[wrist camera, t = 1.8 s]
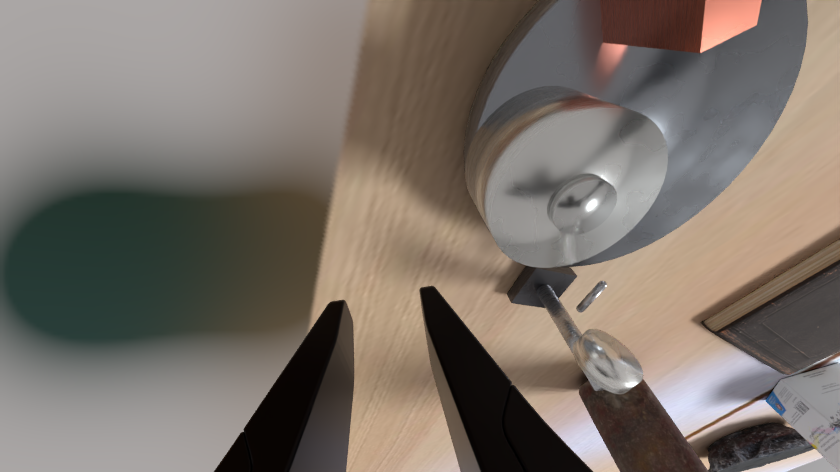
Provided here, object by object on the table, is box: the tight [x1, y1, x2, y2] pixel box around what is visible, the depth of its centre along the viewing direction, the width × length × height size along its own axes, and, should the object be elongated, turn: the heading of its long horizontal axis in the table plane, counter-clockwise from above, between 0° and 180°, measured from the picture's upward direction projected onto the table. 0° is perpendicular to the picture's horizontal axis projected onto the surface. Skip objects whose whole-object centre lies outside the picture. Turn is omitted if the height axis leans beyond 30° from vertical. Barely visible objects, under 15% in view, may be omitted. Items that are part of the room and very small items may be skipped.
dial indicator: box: [507, 266, 643, 394], centre depth 21 cm, size 4×6×10 cm, turn 161°
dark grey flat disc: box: [707, 423, 815, 472], centre depth 62 cm, size 22×22×5 cm
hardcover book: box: [701, 239, 840, 375], centre depth 34 cm, size 16×23×2 cm
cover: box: [465, 86, 668, 268], centre depth 13 cm, size 7×7×5 cm
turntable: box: [464, 0, 808, 267], centre depth 14 cm, size 16×16×6 cm
